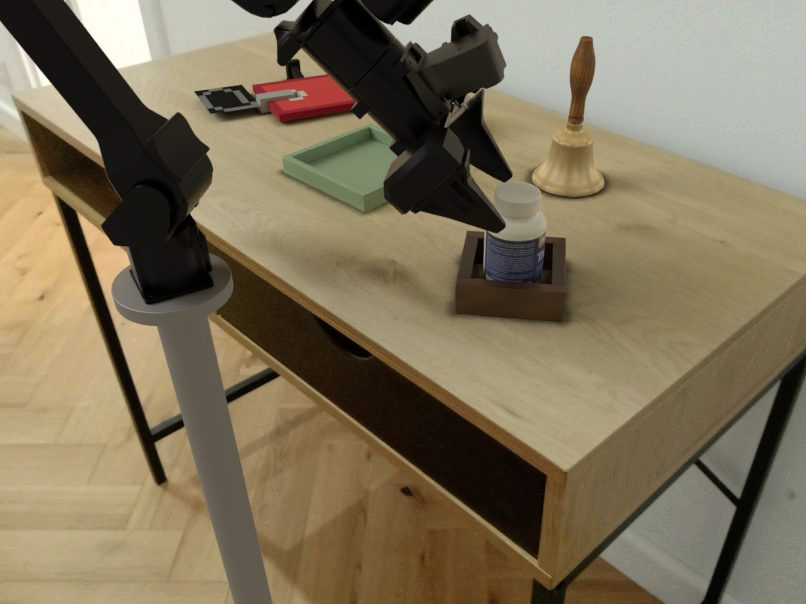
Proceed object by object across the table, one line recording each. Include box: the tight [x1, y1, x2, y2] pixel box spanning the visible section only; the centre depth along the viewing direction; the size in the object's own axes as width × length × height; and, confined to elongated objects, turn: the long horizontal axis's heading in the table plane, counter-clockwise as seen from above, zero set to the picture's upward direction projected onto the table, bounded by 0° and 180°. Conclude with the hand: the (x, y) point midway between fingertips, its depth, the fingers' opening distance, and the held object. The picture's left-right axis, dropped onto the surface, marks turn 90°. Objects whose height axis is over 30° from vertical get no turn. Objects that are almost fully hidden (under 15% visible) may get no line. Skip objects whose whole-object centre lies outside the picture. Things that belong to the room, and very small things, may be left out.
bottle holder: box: [454, 230, 567, 322], centre depth 71 cm, size 9×9×3 cm
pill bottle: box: [482, 181, 548, 284], centre depth 69 cm, size 5×5×10 cm
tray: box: [281, 123, 398, 213], centre depth 89 cm, size 14×14×2 cm
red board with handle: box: [193, 58, 355, 122], centre depth 107 cm, size 30×3×15 cm
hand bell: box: [531, 35, 605, 198], centre depth 84 cm, size 8×8×16 cm
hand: (505, 202), depth 67 cm, fingers open, 9 cm apart
